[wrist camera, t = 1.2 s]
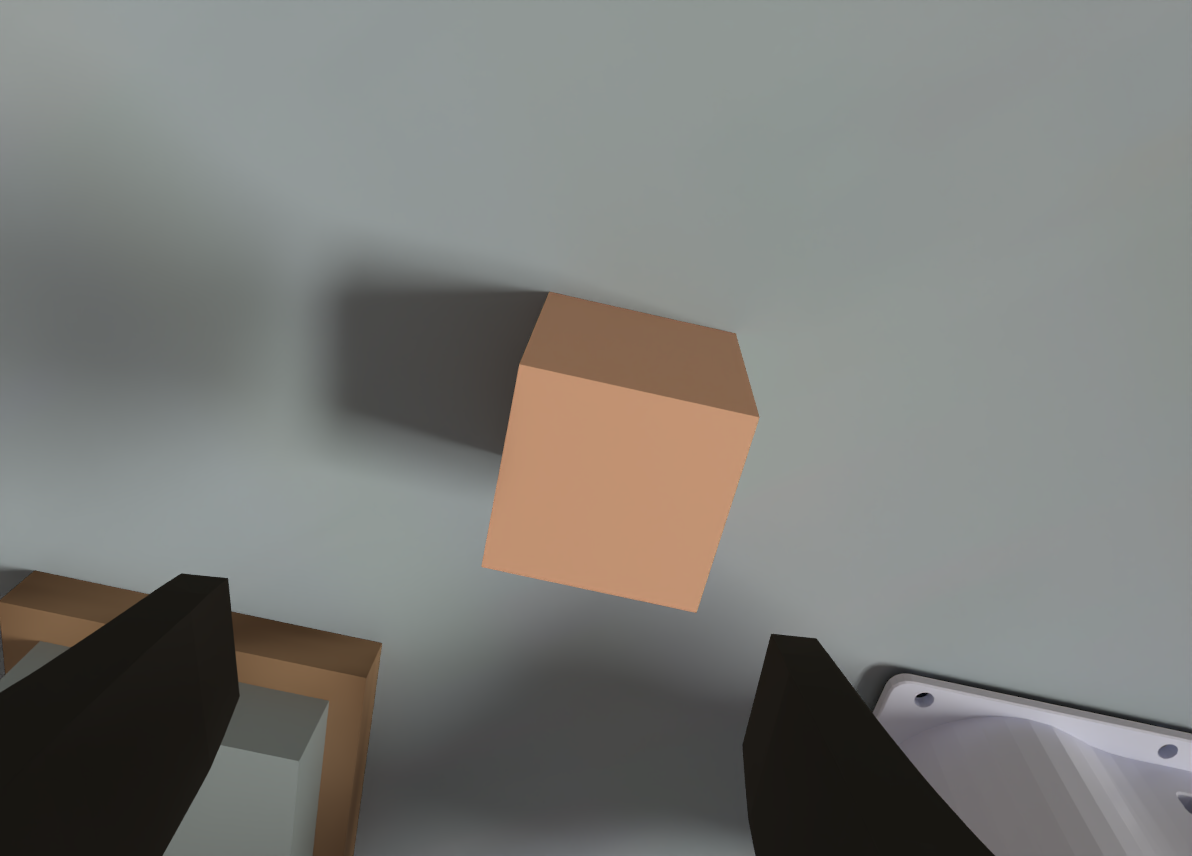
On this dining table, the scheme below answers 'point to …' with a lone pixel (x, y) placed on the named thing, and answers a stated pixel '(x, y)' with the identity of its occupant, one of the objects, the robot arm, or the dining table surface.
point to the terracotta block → (621, 453)
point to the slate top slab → (246, 773)
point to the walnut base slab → (262, 660)
